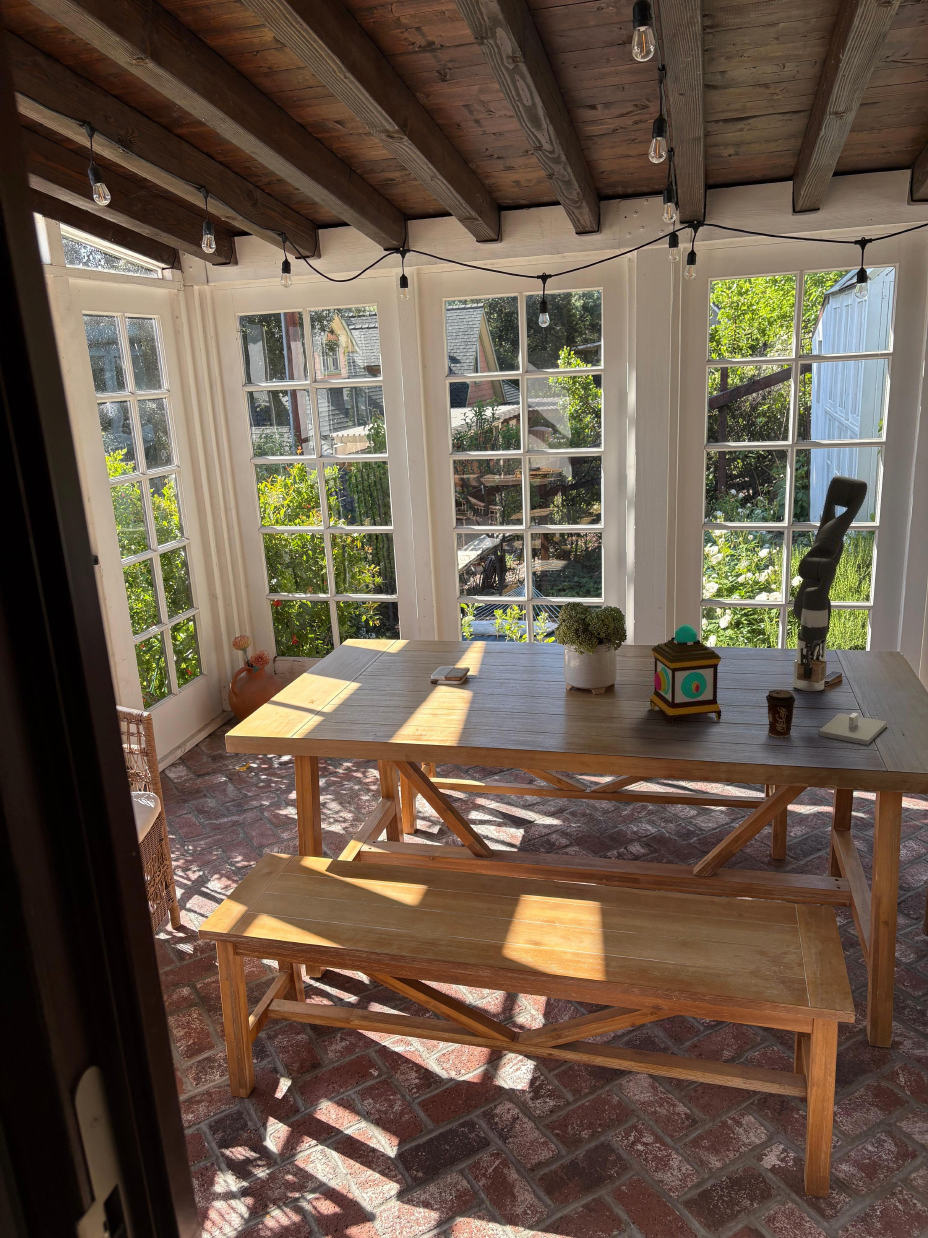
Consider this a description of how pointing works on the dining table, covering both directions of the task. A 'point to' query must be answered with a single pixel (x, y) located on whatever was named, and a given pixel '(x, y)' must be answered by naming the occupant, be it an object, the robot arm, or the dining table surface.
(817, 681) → the cardboard box
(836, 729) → the base plate
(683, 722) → the dining table surface
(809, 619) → the robot arm
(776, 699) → the coffee cup
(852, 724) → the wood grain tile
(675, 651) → the decorative lantern
